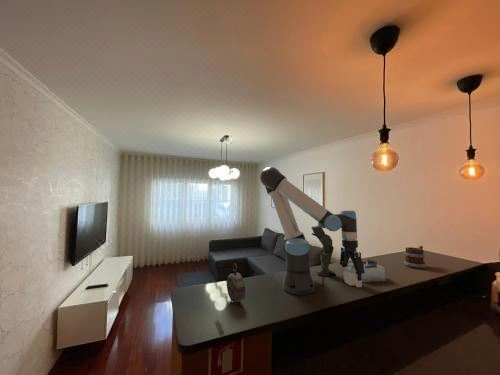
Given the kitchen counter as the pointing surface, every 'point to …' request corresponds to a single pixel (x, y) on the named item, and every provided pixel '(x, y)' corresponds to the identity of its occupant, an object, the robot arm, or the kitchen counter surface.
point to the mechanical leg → (324, 251)
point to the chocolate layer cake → (415, 258)
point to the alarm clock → (235, 287)
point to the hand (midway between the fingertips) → (352, 282)
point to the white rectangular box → (372, 271)
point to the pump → (350, 275)
